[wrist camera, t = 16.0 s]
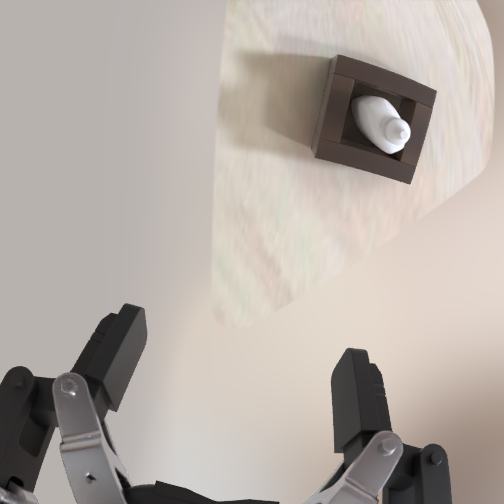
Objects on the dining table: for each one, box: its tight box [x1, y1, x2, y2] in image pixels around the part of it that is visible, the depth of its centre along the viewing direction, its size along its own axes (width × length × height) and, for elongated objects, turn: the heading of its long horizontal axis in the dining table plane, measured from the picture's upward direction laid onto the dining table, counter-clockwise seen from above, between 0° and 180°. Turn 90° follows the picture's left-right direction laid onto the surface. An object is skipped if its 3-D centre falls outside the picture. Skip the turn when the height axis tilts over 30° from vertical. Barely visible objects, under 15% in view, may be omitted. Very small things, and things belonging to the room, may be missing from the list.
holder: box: [311, 54, 437, 184], centre depth 29 cm, size 12×12×4 cm
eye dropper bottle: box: [351, 95, 411, 154], centre depth 26 cm, size 4×6×12 cm
